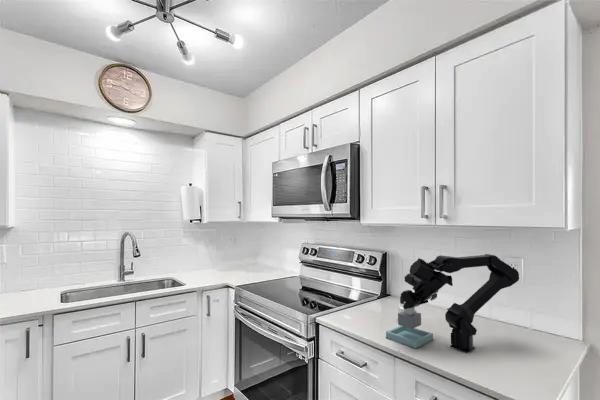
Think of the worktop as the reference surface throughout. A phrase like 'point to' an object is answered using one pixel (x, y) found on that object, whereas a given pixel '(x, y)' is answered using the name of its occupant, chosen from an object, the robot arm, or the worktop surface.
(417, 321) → the grey tabbed block
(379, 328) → the worktop surface
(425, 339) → the tray
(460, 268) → the robot arm
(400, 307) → the medicine bottle
